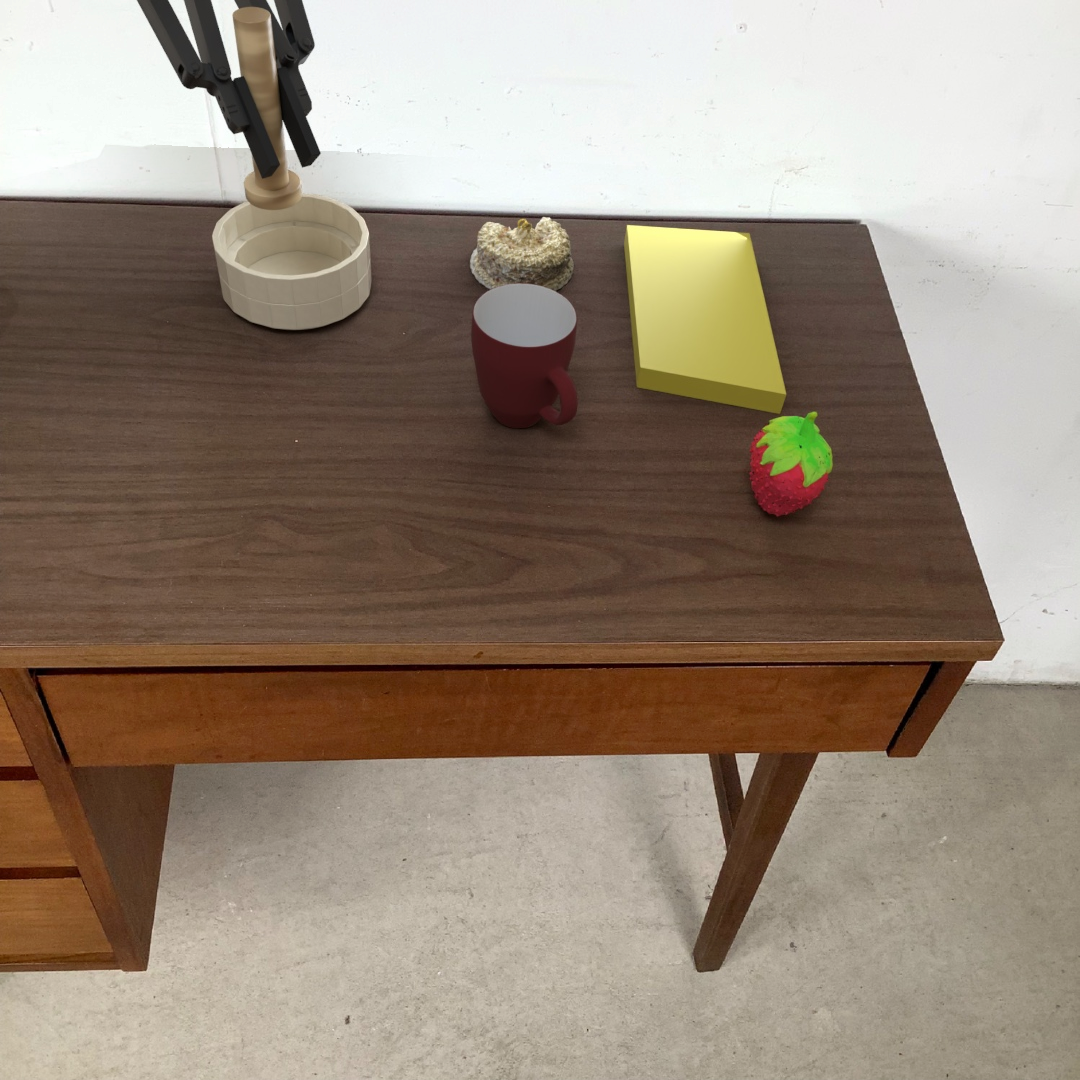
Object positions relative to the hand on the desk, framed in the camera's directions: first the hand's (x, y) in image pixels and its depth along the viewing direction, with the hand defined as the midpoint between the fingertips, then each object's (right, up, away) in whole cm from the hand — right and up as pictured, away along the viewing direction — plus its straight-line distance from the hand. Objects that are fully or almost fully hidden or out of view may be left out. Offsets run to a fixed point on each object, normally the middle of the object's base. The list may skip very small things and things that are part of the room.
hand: (291, 165), depth 79 cm
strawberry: (+37, -25, +4) cm, 45 cm away
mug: (+18, -18, +9) cm, 27 cm away
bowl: (-3, -5, +18) cm, 19 cm away
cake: (+17, -2, +23) cm, 28 cm away
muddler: (-3, 0, +5) cm, 6 cm away
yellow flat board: (+33, -8, +19) cm, 39 cm away
